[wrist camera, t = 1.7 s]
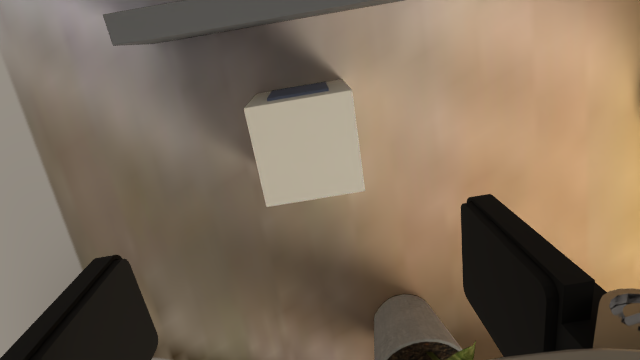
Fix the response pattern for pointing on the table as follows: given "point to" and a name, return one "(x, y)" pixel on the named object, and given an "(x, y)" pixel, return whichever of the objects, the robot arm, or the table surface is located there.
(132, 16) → the long grey slat
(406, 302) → the house plant
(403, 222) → the table surface
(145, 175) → the table surface
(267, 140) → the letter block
